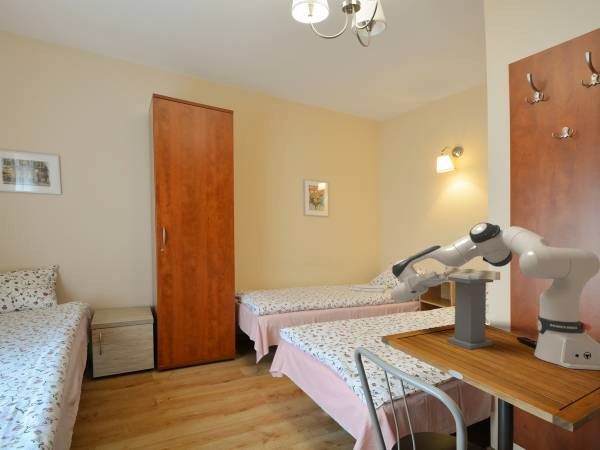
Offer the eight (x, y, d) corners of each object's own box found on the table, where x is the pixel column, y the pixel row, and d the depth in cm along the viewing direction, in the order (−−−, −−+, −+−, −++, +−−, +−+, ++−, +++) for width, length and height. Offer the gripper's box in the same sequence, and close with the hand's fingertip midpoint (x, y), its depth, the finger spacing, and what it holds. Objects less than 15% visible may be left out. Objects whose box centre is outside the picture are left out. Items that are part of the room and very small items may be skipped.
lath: (445, 273, 152) (445, 266, 152) (449, 273, 153) (450, 266, 153) (495, 280, 132) (495, 272, 132) (500, 279, 133) (500, 271, 133)
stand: (447, 342, 139) (447, 273, 140) (469, 338, 146) (470, 272, 146) (469, 349, 130) (470, 276, 131) (493, 344, 137) (493, 275, 138)
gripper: (435, 290, 166) (459, 279, 156) (406, 292, 155) (430, 280, 145) (429, 278, 169) (453, 266, 159) (401, 279, 157) (424, 266, 148)
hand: (442, 273), depth 152 cm, fingers open, 8 cm apart
